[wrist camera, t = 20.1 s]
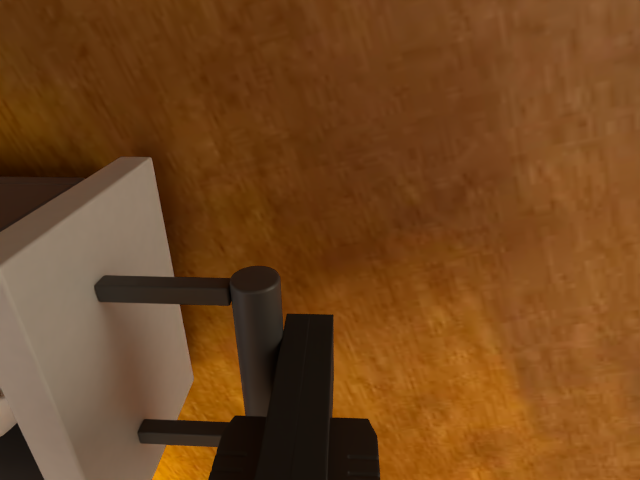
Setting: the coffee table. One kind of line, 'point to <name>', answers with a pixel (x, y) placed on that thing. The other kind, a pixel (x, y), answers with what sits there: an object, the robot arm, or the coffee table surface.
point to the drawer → (110, 328)
